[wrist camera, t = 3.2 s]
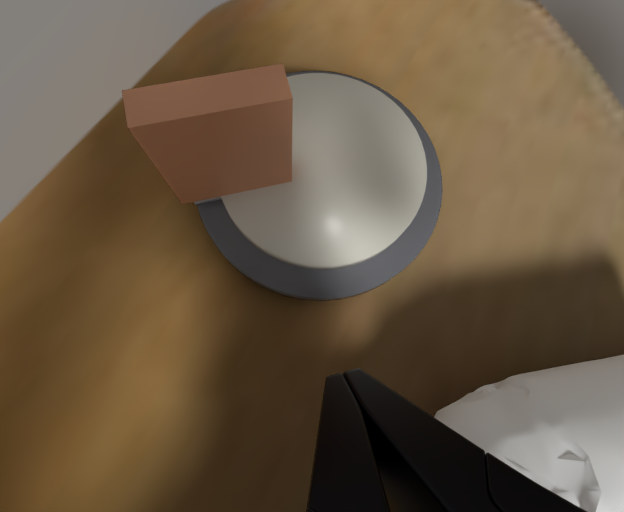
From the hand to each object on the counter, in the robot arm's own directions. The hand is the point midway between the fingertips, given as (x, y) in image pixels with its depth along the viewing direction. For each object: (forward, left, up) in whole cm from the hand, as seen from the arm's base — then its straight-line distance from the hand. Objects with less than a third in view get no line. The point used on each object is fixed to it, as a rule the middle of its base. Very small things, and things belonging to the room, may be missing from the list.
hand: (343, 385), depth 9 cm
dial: (+3, -11, -10) cm, 15 cm away
